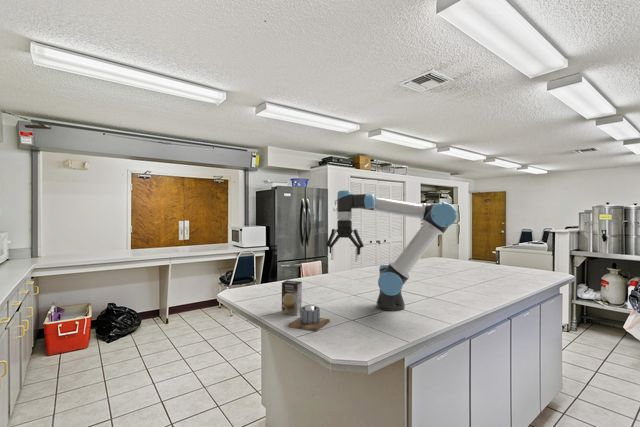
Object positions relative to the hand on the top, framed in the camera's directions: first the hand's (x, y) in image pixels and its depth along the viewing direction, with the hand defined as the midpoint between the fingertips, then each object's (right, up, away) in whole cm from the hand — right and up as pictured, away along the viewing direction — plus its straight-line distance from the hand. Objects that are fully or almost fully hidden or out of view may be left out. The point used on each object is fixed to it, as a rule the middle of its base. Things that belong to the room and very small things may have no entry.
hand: (344, 260), depth 164 cm
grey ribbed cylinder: (-18, -25, -20) cm, 37 cm away
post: (-18, -25, -20) cm, 37 cm away
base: (-18, -27, -20) cm, 37 cm away
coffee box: (-28, -27, -3) cm, 39 cm away
